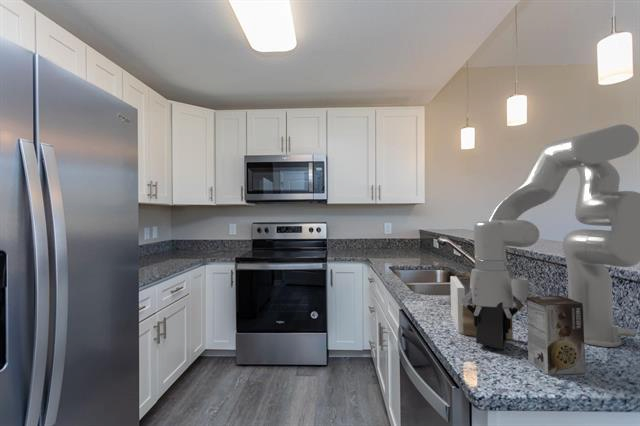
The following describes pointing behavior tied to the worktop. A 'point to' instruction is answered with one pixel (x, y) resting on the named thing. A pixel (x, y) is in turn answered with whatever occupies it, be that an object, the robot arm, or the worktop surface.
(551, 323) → the coffee box
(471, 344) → the worktop surface
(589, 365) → the worktop surface
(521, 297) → the cup
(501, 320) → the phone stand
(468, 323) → the door
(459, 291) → the wall frame
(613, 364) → the worktop surface
